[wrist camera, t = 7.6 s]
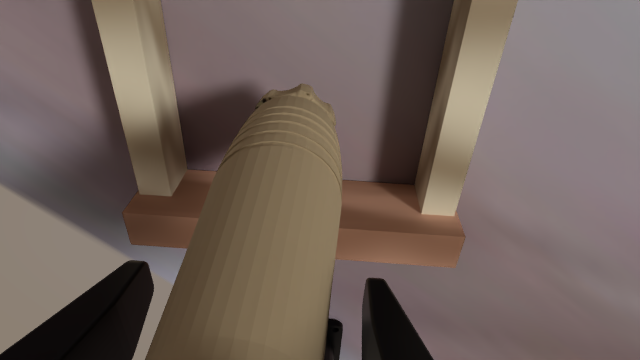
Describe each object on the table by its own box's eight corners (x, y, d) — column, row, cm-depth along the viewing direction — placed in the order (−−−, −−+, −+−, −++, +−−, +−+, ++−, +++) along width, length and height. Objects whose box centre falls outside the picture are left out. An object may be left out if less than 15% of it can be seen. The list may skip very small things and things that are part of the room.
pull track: (440, 215, 23) (455, 267, 20) (161, 196, 24) (130, 244, 20) (582, -311, 12) (670, -390, 9) (48, -336, 12) (-60, -421, 9)
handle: (204, 127, 18) (-130, 653, 5) (307, 16, 15) (110, 575, 3) (287, 193, 19) (183, 706, 7) (393, 105, 17) (526, 694, 4)
